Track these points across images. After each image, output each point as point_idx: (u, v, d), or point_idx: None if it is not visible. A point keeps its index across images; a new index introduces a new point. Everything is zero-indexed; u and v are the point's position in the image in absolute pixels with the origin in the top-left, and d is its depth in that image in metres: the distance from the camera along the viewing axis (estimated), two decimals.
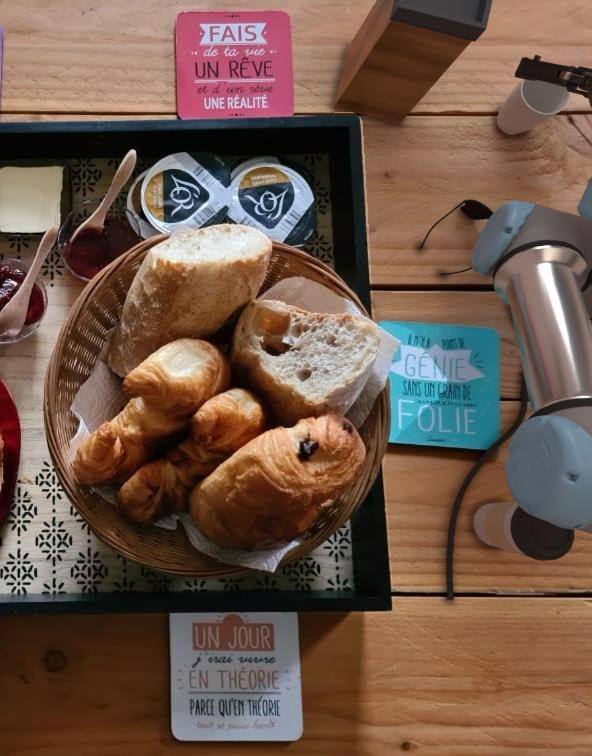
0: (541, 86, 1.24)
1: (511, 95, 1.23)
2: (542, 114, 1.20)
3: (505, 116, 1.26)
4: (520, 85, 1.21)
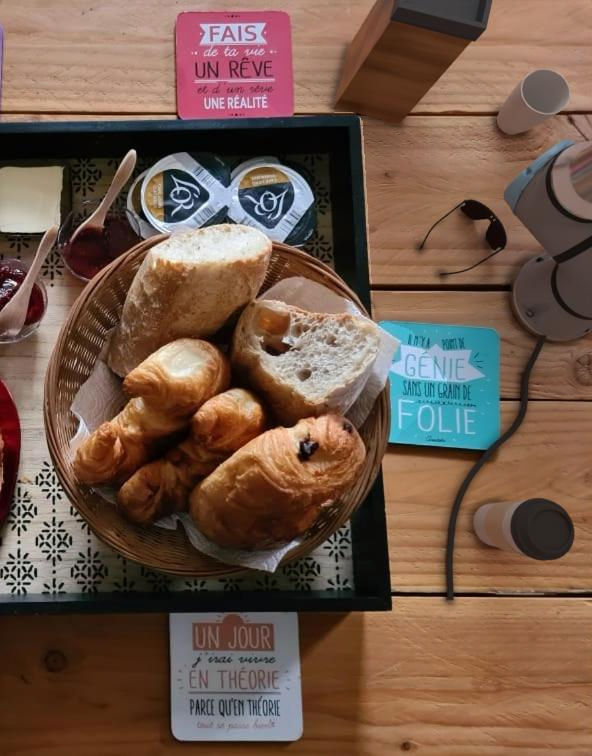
0: (541, 86, 1.24)
1: (511, 95, 1.23)
2: (542, 114, 1.20)
3: (505, 116, 1.26)
4: (520, 85, 1.21)
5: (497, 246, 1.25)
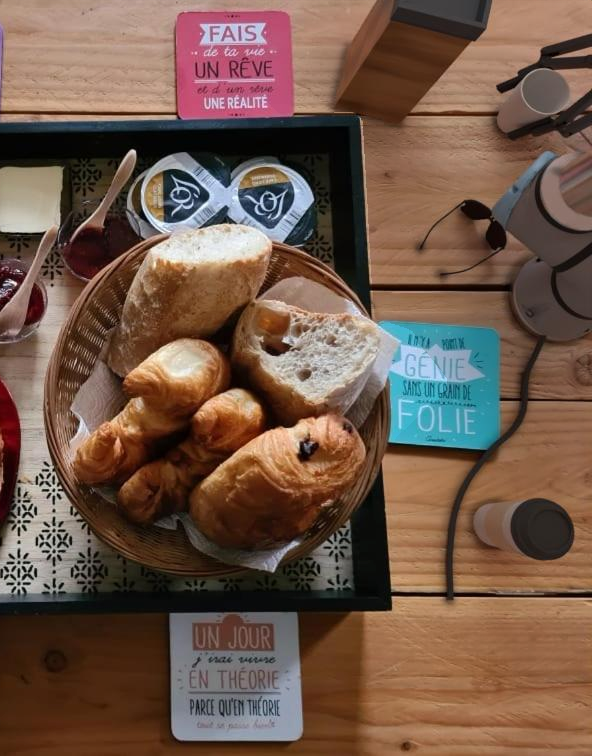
0: (541, 86, 1.24)
1: (511, 95, 1.23)
2: (542, 114, 1.20)
3: (505, 116, 1.26)
4: (520, 85, 1.21)
5: (497, 246, 1.25)
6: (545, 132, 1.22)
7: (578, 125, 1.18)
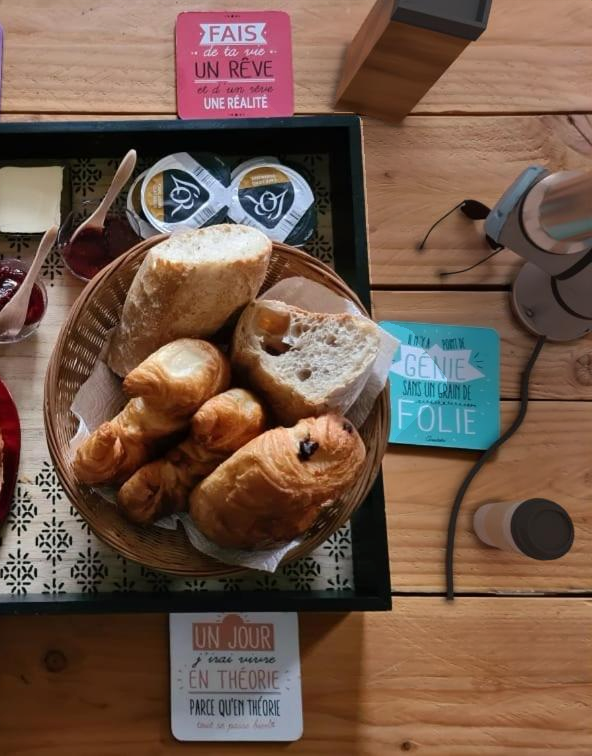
0: None
1: None
2: None
3: None
4: None
5: (497, 246, 1.25)
6: None
7: None
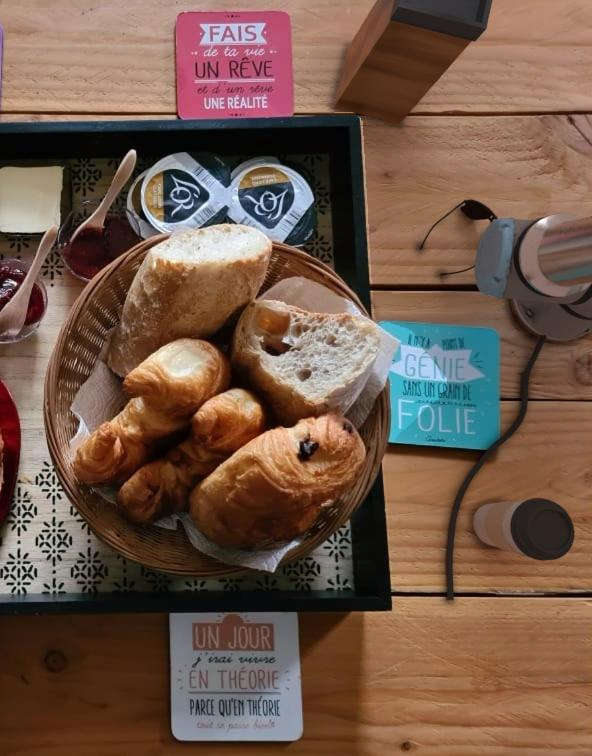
0: None
1: None
2: None
3: None
4: None
5: None
6: None
7: None
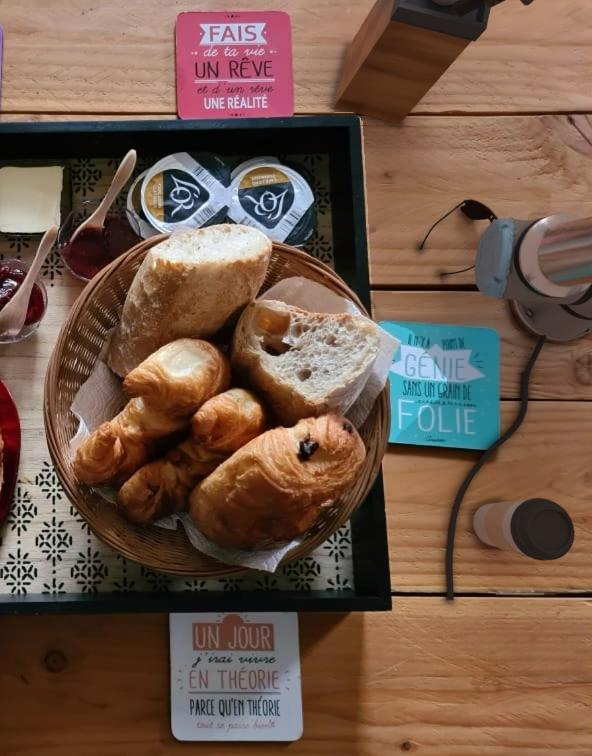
0: None
1: None
2: None
3: None
4: None
5: None
6: None
7: None
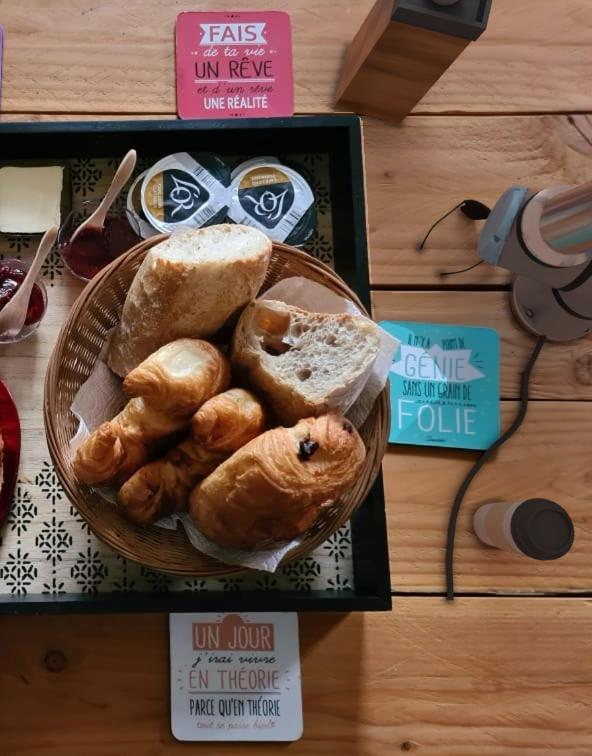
0: None
1: None
2: None
3: None
4: None
5: None
6: None
7: None
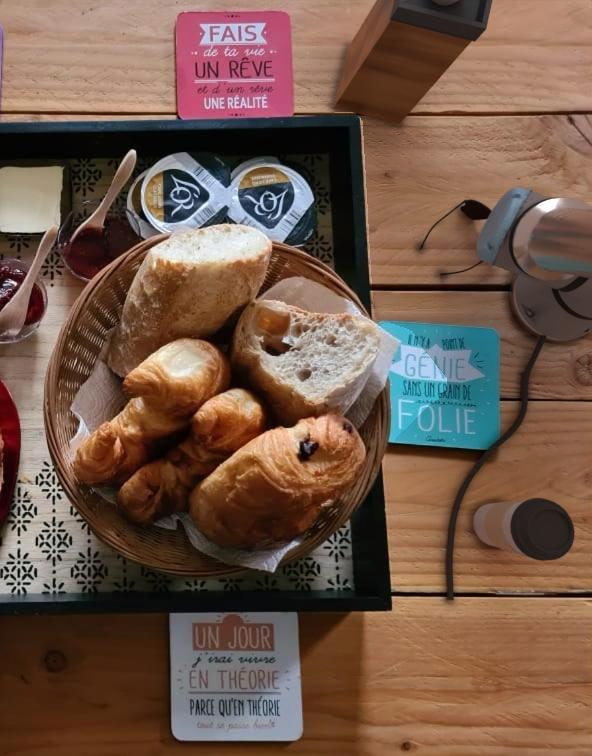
0: None
1: None
2: None
3: None
4: None
5: None
6: None
7: None
